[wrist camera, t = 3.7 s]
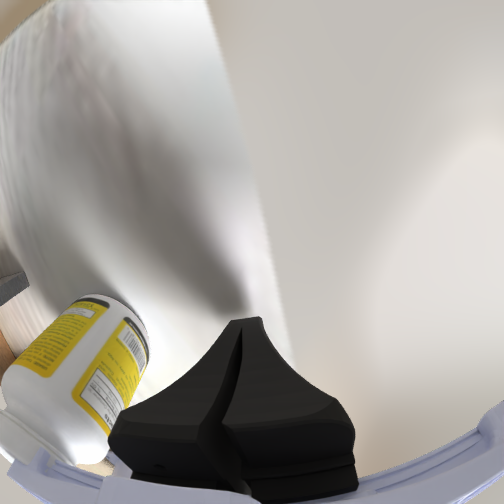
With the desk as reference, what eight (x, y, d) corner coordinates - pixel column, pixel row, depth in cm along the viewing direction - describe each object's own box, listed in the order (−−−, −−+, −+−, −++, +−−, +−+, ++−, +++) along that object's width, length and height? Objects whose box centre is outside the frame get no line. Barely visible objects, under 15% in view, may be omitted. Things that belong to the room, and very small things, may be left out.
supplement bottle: (65, 331, 13) (-21, 435, 4) (88, 271, 12) (-46, 390, 3) (133, 382, 14) (76, 509, 5) (171, 334, 13) (98, 507, 4)
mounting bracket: (82, 387, 15) (65, 414, 12) (22, 376, 16) (7, 395, 13) (24, 271, 12) (-7, 290, 9) (-24, 285, 13) (-46, 299, 10)
